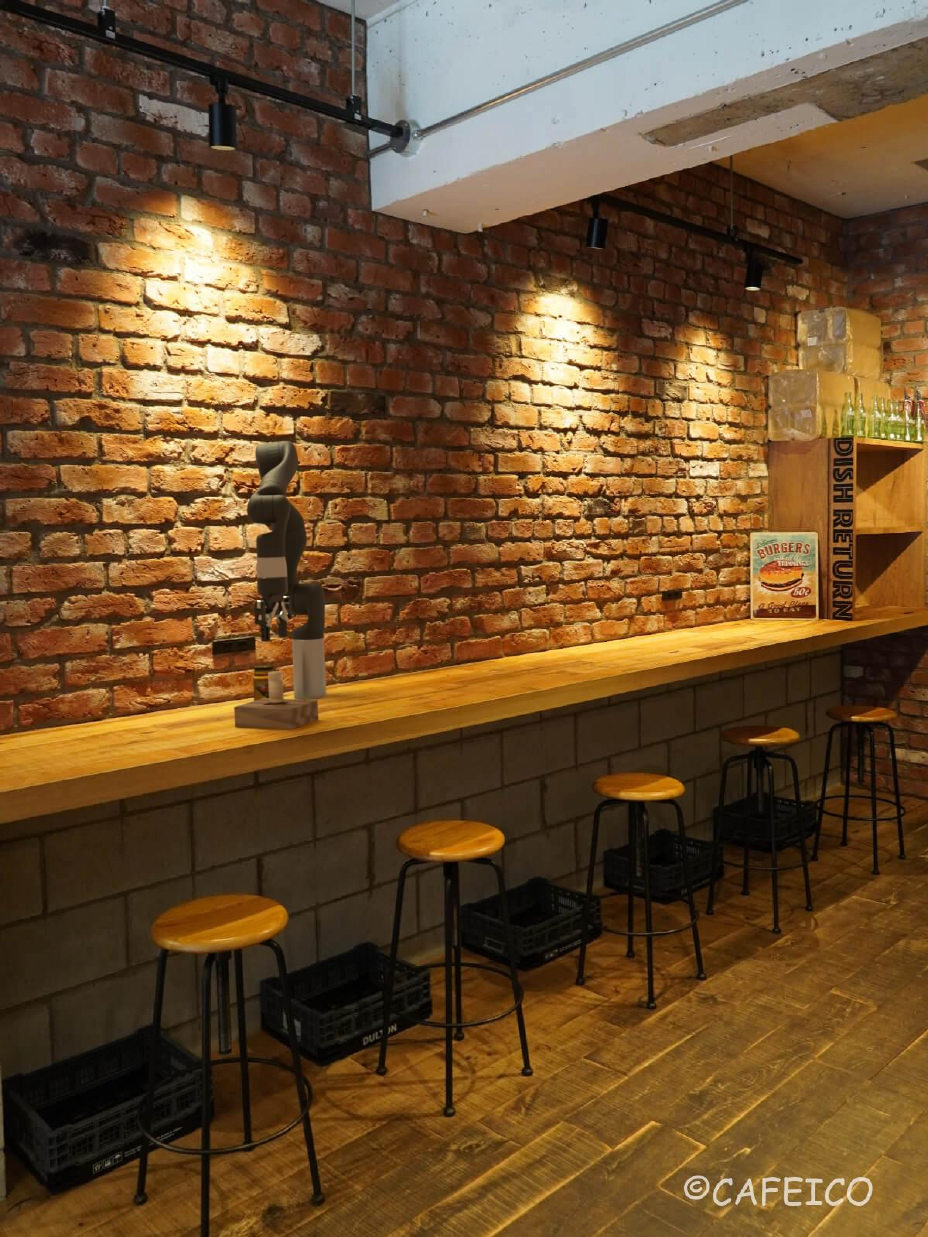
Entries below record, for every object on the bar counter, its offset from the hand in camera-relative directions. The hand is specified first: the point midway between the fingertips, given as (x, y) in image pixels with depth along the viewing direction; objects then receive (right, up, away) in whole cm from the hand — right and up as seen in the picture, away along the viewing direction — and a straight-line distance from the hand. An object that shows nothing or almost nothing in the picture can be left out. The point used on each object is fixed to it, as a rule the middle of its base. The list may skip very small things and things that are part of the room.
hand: (274, 639), depth 264 cm
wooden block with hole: (0, -21, +2) cm, 21 cm away
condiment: (-7, -20, +24) cm, 32 cm away
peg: (0, -21, +2) cm, 21 cm away
